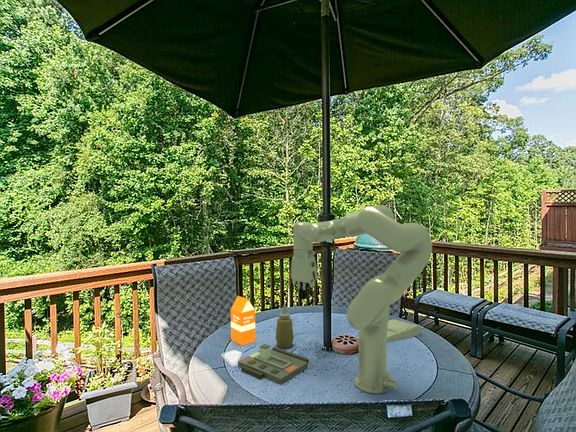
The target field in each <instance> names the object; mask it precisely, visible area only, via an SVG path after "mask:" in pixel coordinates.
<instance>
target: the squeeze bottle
mask: <svg viewBox="0 0 576 432" xmlns="http://www.w3.org/2000/svg"><path fill="white" fill-rule="evenodd" d="M290 315H291V314H290V313H289V312H288V309H287V306H286V305H282V309H281V312H280V313H279V315H278V318H277V319H276V329H275V340H276V341H275V342H276V344H277V346H278V348H280V349H281V348H283V349H289V348H290V347H292V344H293V341H294V337H295V336H294V330H293V319H292V318H291V317H290Z"/></svg>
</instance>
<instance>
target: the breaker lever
mask: <svg viewBox="0 0 576 432" xmlns="http://www.w3.org/2000/svg"><path fill="white" fill-rule="evenodd" d="M271 347H272V346H271V345H269V344H266V343H264V344H261V345H260V346H259V351H260V358H262V359H264V360H268V359H270V358H271V350H272V348H271Z"/></svg>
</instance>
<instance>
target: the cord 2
mask: <svg viewBox="0 0 576 432" xmlns="http://www.w3.org/2000/svg"><path fill="white" fill-rule="evenodd" d="M271 350H274V351H277V352H280V353H283V354H285V355H288V356H291V357H294V358H297V359H300V360H302V361H305V362H308V364H309V362H310V359H309V358H307V357H304V356H302V355H298V354H295V353H294V352H293V353H292V352H289V351H288V350H287V351H286V350H284V349H281V348H279V347H276V346H273V347H272V348H271Z"/></svg>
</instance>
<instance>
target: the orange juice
mask: <svg viewBox="0 0 576 432" xmlns="http://www.w3.org/2000/svg"><path fill="white" fill-rule="evenodd" d="M230 338H231V339H230V340H231V341H234V342H235V343H236V344H238V345H240V346H244V345H247V344H250V343H253V342H255V341H256V309H255V307H254V306H253V305H252V303H251V302H250V300H249V299H248V298H246V297H243V296H239V295H237V297H236V298H235V300H234V302H233V304H232V305H231V308H230Z"/></svg>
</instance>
